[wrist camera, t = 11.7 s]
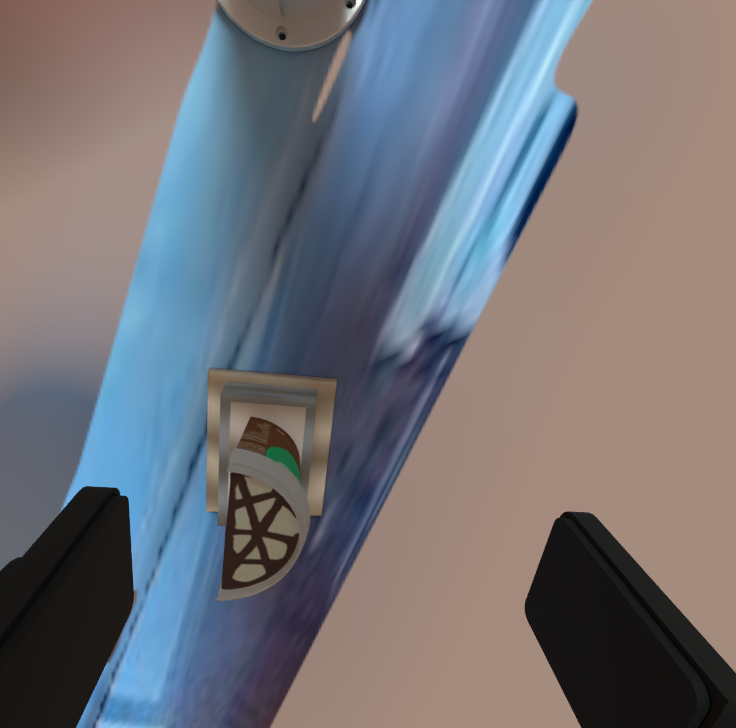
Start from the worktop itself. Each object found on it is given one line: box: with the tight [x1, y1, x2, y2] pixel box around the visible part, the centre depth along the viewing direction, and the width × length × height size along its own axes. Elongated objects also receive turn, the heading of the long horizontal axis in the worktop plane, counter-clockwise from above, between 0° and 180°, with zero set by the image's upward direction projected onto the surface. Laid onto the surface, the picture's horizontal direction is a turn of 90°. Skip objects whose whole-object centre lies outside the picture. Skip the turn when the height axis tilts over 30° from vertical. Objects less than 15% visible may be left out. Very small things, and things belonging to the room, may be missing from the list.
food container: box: [216, 417, 310, 601], centre depth 34 cm, size 12×6×10 cm, turn 170°
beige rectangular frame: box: [206, 368, 337, 526], centre depth 41 cm, size 16×12×4 cm
